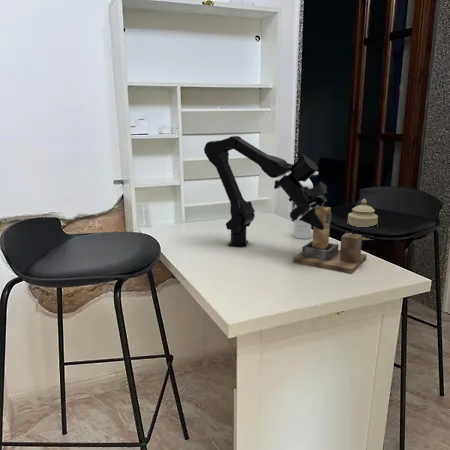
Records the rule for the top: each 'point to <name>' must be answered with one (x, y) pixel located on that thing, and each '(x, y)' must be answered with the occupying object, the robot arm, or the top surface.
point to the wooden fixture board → (334, 255)
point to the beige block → (325, 218)
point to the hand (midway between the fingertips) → (325, 227)
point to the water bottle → (301, 227)
